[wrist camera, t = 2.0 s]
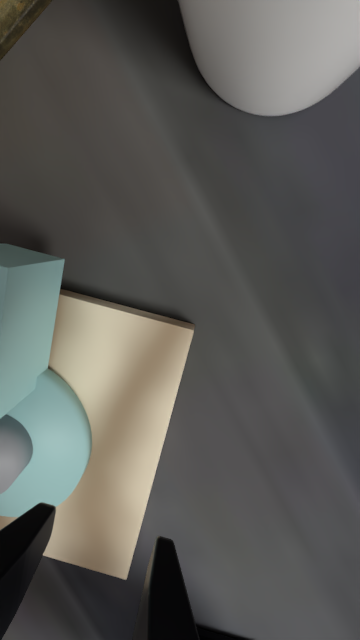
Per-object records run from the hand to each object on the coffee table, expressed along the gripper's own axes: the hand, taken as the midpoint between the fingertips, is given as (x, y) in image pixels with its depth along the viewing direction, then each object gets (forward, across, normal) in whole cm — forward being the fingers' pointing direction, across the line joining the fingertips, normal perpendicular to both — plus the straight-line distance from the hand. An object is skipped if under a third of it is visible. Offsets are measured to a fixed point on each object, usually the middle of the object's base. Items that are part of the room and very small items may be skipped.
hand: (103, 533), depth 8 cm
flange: (+10, +8, +4) cm, 14 cm away
